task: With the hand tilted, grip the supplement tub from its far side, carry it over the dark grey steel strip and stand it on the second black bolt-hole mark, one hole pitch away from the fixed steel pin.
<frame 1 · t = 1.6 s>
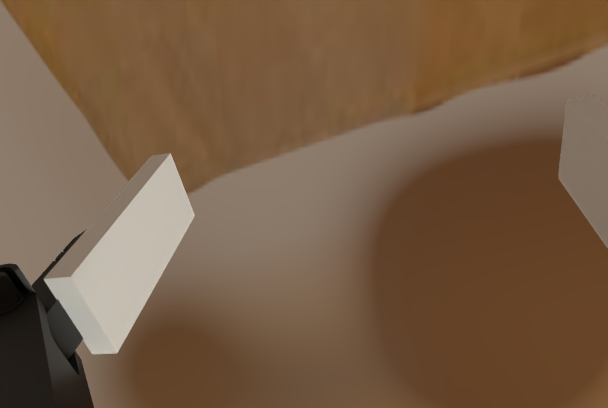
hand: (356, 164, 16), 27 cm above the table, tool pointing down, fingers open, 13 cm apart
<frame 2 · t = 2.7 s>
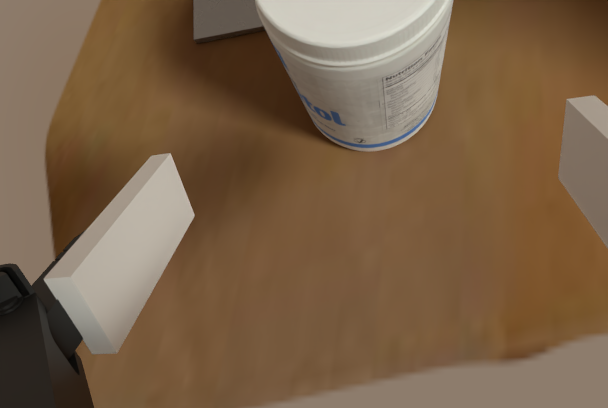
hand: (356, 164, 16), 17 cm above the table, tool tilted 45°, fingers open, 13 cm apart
supplement tub: (372, 95, 34), on the table
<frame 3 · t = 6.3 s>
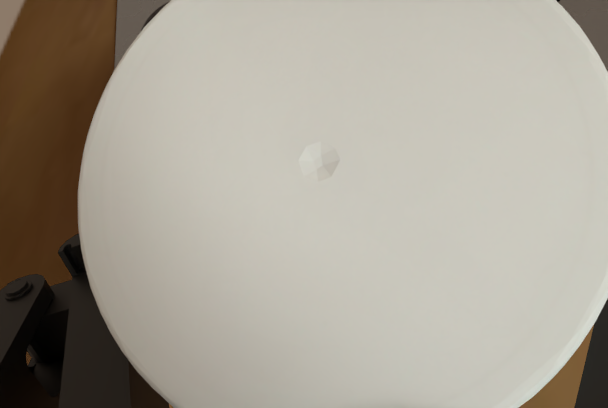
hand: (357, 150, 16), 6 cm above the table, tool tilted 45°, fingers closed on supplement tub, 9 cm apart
steel strip: (336, 13, 25), on the table
supplement tub: (377, 253, 22), on the table, touching gripper
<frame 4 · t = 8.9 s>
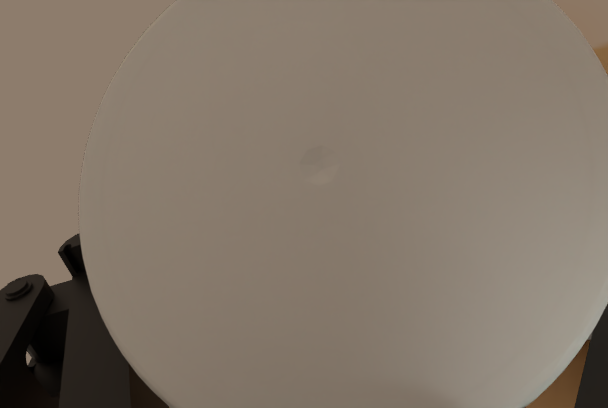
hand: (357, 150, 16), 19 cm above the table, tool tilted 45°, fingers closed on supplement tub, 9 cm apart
supplement tub: (377, 255, 22), point 13 cm above the table, touching gripper
when the fingers open (8 cm above the table, at t = 11.6 s): supplement tub drops 1 cm, resting on steel strip.
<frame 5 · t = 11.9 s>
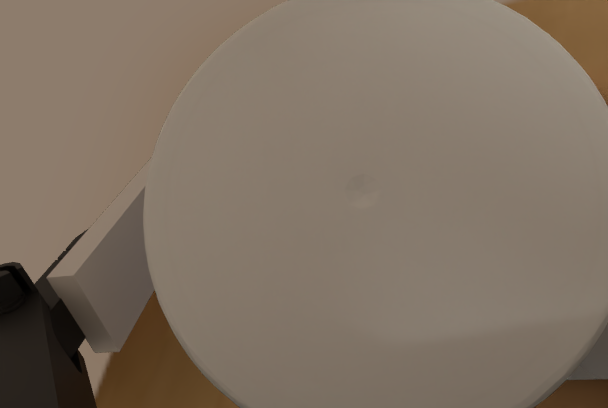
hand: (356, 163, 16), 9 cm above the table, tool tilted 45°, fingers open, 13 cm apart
steel strip: (571, 242, 21), on the table
supplement tub: (386, 258, 23), resting on steel strip
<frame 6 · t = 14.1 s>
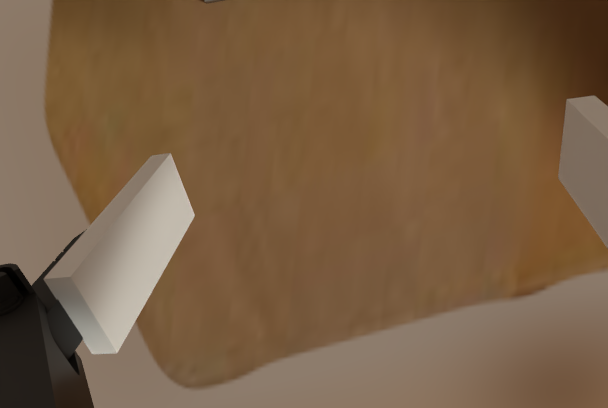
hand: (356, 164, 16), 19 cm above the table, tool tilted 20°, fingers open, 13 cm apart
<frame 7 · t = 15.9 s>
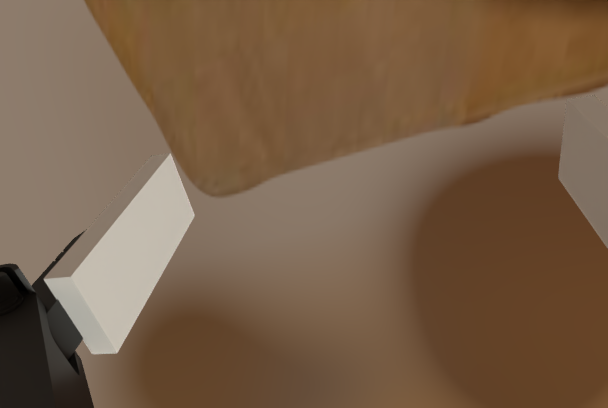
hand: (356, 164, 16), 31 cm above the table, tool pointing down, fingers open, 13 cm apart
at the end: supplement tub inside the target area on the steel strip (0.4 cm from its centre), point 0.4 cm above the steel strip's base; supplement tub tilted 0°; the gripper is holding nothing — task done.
